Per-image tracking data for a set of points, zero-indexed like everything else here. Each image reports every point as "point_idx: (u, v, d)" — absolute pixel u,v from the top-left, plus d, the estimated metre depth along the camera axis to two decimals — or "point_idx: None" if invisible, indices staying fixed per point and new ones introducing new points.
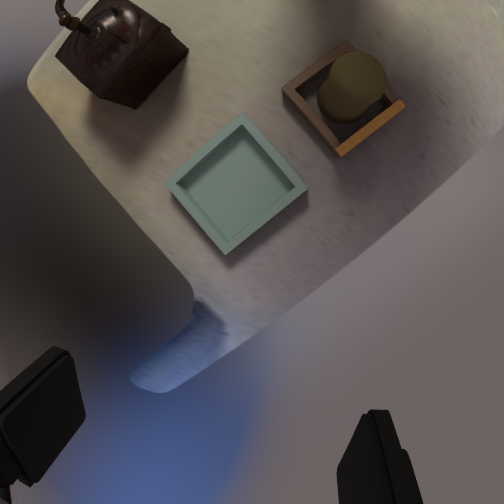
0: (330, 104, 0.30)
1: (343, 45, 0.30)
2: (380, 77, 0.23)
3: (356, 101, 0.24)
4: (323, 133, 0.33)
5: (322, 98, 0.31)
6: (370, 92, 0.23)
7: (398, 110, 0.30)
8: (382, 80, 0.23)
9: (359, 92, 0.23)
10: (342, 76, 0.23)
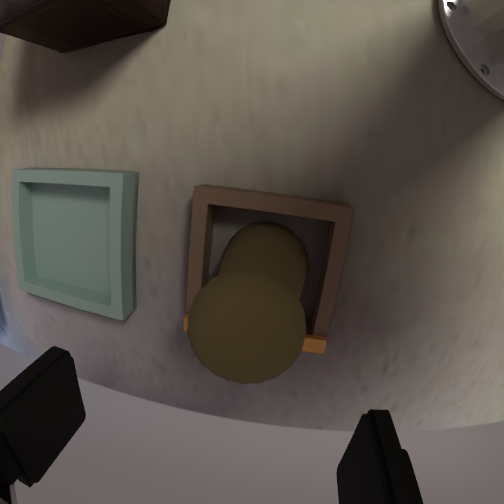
0: None
1: (340, 209, 0.19)
2: (266, 372, 0.13)
3: None
4: (189, 287, 0.22)
5: (226, 252, 0.20)
6: (226, 375, 0.13)
7: (308, 349, 0.21)
8: (265, 377, 0.13)
9: (206, 361, 0.13)
10: (204, 320, 0.12)
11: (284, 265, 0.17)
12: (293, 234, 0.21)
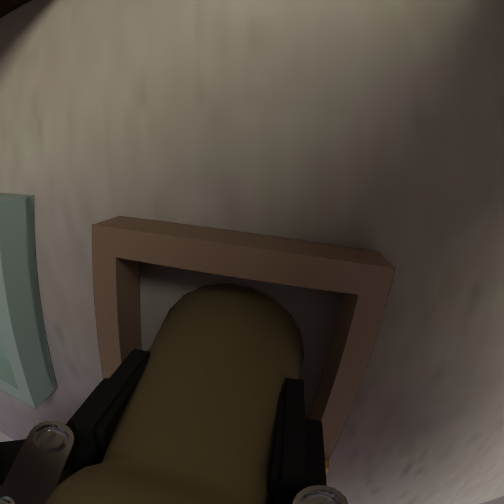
0: None
1: (369, 271, 0.09)
2: None
3: None
4: None
5: None
6: None
7: None
8: None
9: None
10: None
11: (249, 416, 0.07)
12: (276, 309, 0.12)
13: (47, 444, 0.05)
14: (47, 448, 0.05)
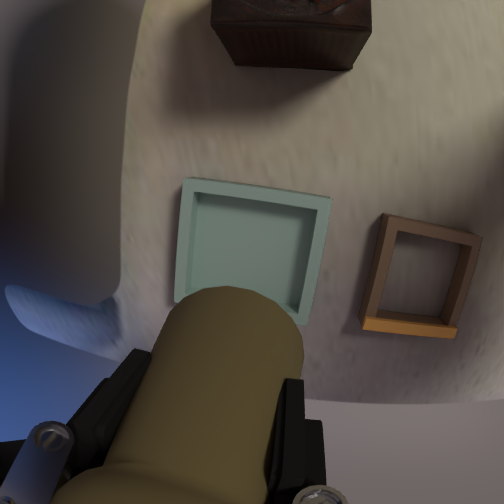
0: None
1: (475, 238, 0.24)
2: None
3: None
4: (372, 294, 0.26)
5: (152, 349, 0.10)
6: None
7: (445, 336, 0.26)
8: None
9: None
10: None
11: (249, 419, 0.07)
12: (277, 311, 0.12)
13: (47, 444, 0.05)
14: (47, 448, 0.05)
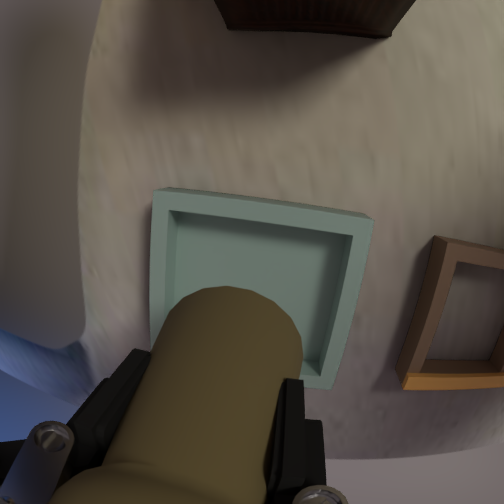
0: None
1: None
2: None
3: None
4: (419, 346, 0.18)
5: (151, 349, 0.10)
6: None
7: (497, 385, 0.18)
8: None
9: None
10: None
11: (249, 419, 0.07)
12: (276, 311, 0.12)
13: (47, 444, 0.05)
14: (47, 448, 0.05)
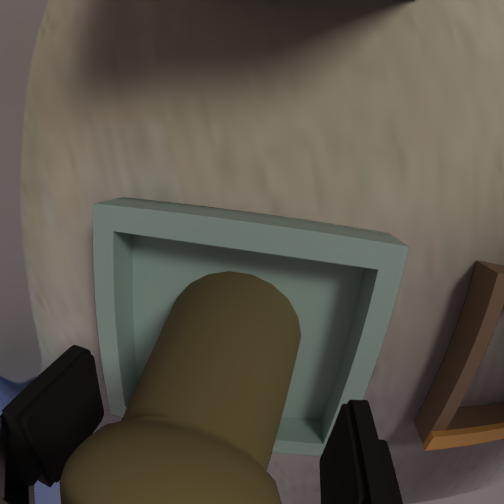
0: None
1: None
2: None
3: None
4: (449, 402, 0.12)
5: (162, 329, 0.12)
6: None
7: None
8: None
9: None
10: None
11: (250, 380, 0.08)
12: (274, 293, 0.13)
13: None
14: None
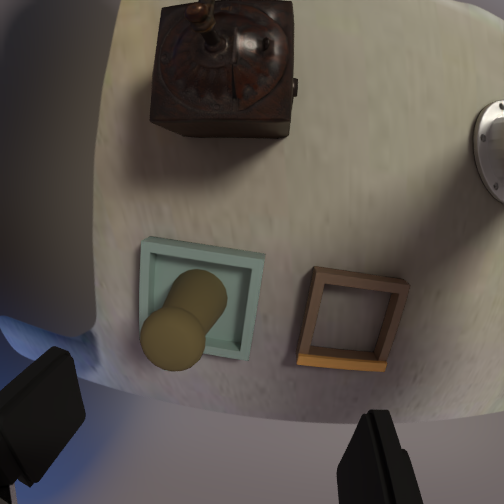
0: None
1: (403, 286, 0.30)
2: (182, 364, 0.23)
3: None
4: (304, 336, 0.32)
5: (169, 291, 0.30)
6: (161, 366, 0.23)
7: (375, 370, 0.32)
8: (182, 367, 0.23)
9: (150, 358, 0.23)
10: (147, 335, 0.22)
11: (199, 302, 0.27)
12: (214, 278, 0.32)
13: None
14: None
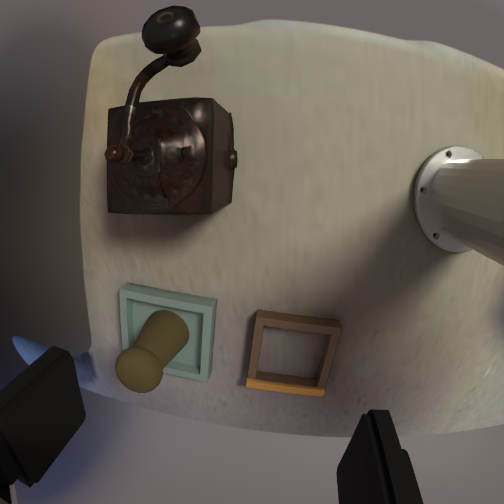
0: None
1: (334, 328, 0.36)
2: (144, 389, 0.30)
3: None
4: (250, 365, 0.38)
5: (142, 328, 0.37)
6: (130, 388, 0.30)
7: (314, 394, 0.38)
8: (144, 390, 0.30)
9: (123, 383, 0.30)
10: (119, 368, 0.29)
11: (160, 341, 0.34)
12: (177, 317, 0.39)
13: None
14: None
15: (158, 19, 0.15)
